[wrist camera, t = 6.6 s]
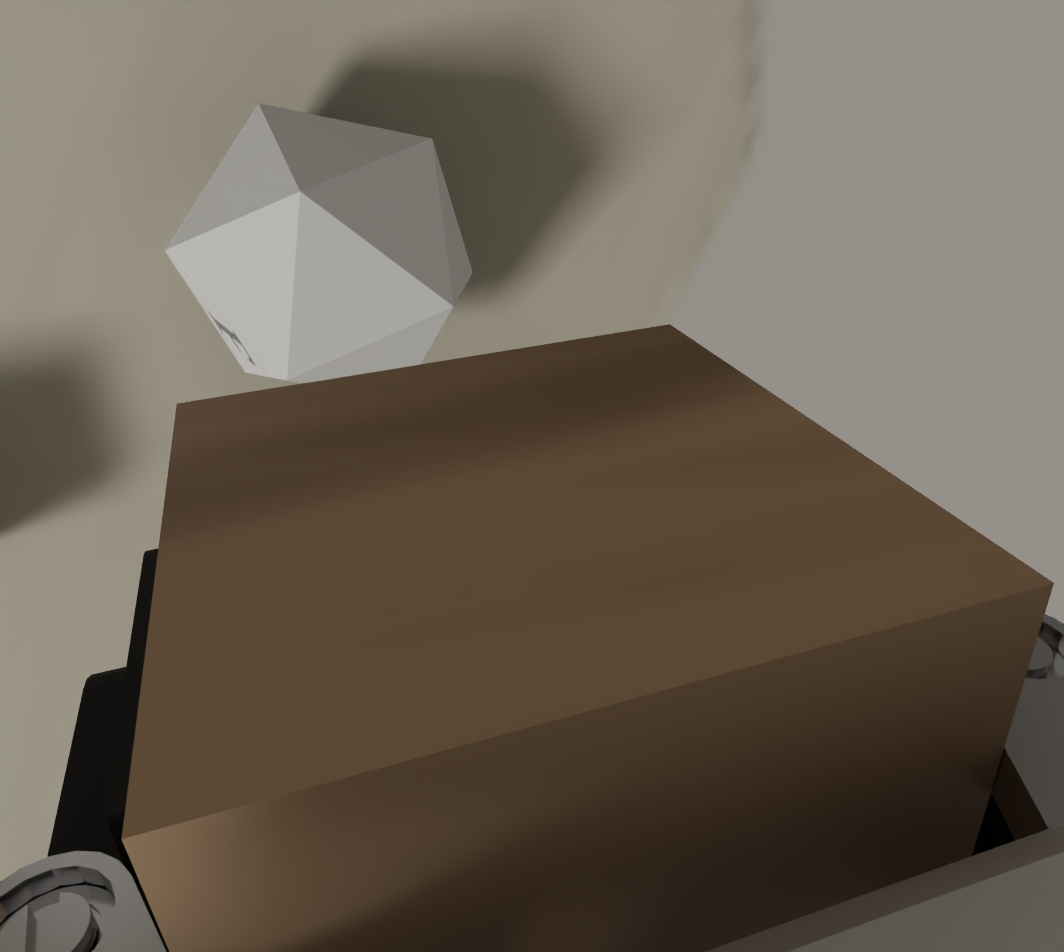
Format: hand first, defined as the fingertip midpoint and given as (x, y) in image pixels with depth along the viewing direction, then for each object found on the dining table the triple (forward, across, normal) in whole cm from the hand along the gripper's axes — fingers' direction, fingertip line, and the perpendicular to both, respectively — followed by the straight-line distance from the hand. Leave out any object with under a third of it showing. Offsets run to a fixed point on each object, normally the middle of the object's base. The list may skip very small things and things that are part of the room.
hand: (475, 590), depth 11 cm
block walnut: (+1, 0, 0) cm, 1 cm away
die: (+22, 0, 0) cm, 22 cm away
